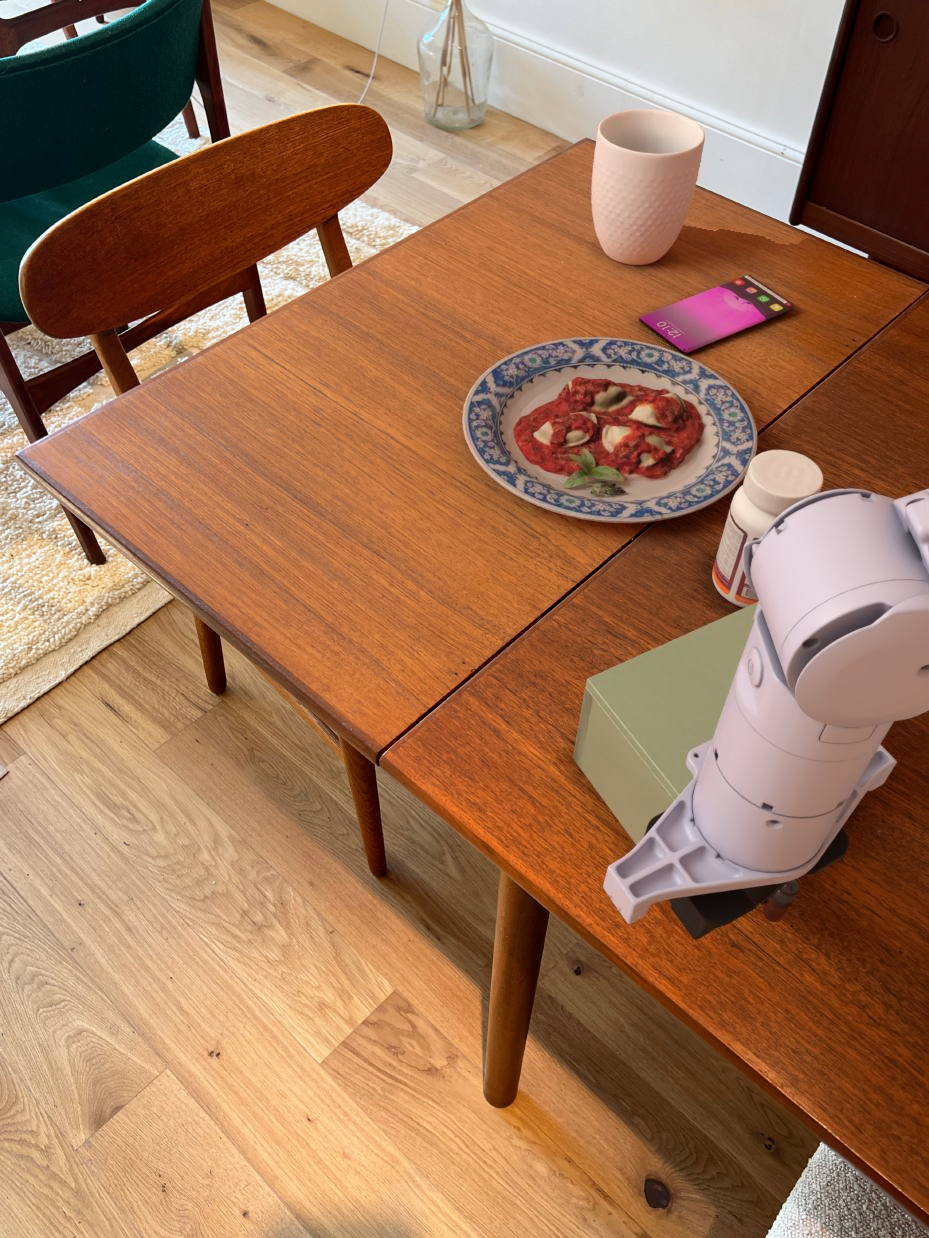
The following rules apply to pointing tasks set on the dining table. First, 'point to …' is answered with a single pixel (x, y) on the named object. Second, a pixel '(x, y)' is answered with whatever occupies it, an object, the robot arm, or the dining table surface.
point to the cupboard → (657, 718)
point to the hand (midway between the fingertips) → (715, 904)
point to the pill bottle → (760, 514)
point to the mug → (643, 182)
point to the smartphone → (716, 314)
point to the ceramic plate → (609, 429)
